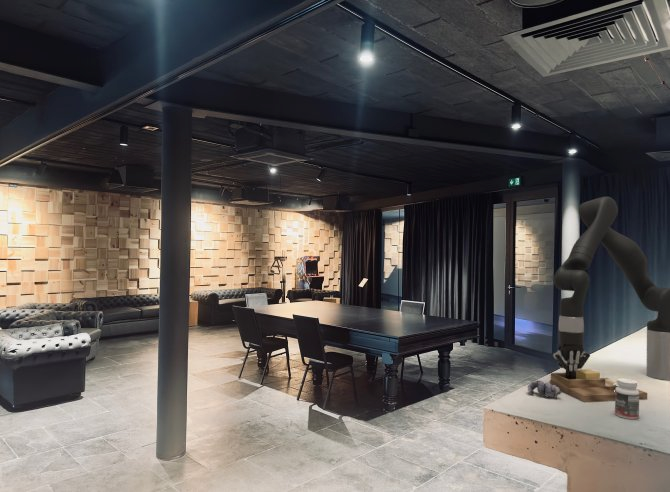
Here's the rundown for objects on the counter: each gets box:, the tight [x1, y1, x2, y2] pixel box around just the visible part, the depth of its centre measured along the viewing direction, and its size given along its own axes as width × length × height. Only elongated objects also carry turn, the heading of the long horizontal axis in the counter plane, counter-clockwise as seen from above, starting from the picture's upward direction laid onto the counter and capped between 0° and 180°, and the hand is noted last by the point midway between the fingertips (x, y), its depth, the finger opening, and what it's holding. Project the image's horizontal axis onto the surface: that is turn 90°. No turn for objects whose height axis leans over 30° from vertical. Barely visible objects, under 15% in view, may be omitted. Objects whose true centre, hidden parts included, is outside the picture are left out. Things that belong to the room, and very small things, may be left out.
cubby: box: [550, 372, 605, 388], centre depth 152 cm, size 14×9×2 cm, turn 99°
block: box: [576, 368, 601, 379], centre depth 153 cm, size 5×5×4 cm
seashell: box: [527, 380, 563, 399], centre depth 145 cm, size 5×5×10 cm
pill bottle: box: [614, 377, 640, 420], centre depth 128 cm, size 6×6×10 cm
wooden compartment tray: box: [549, 377, 648, 403], centre depth 150 cm, size 22×17×2 cm
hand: (570, 381), depth 152 cm, fingers closed
